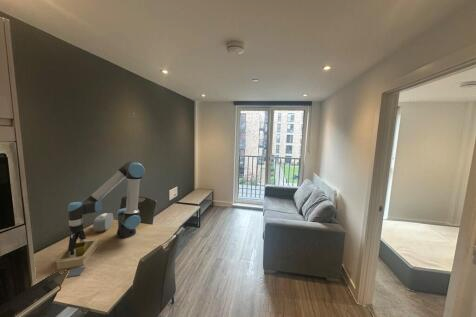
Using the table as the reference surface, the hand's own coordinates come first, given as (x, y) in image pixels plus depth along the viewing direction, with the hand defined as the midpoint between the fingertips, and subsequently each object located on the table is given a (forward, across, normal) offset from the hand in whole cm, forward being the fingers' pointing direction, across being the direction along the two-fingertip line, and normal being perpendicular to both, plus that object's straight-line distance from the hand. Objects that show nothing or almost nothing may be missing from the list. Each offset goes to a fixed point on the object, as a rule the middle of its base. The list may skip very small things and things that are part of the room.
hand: (78, 253), depth 143 cm
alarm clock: (+3, -48, +1) cm, 48 cm away
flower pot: (+3, 0, 0) cm, 3 cm away
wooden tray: (+3, 0, 0) cm, 3 cm away
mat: (+3, +19, +5) cm, 20 cm away
